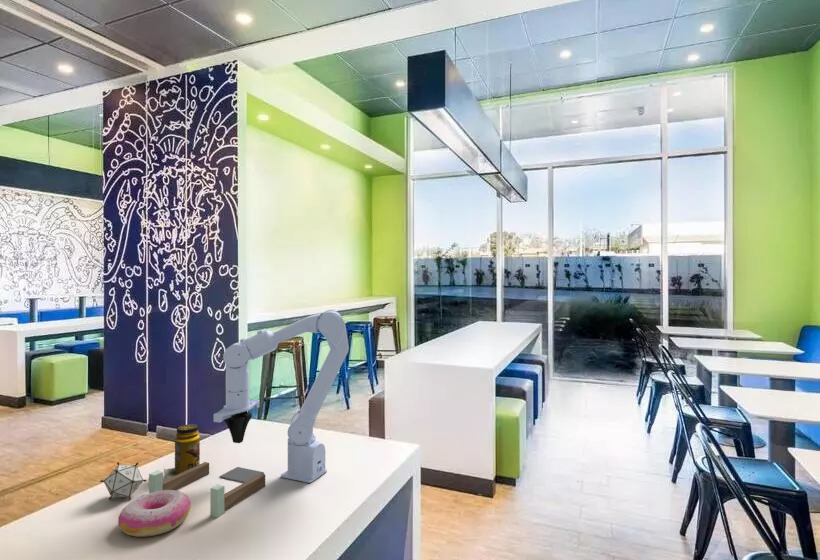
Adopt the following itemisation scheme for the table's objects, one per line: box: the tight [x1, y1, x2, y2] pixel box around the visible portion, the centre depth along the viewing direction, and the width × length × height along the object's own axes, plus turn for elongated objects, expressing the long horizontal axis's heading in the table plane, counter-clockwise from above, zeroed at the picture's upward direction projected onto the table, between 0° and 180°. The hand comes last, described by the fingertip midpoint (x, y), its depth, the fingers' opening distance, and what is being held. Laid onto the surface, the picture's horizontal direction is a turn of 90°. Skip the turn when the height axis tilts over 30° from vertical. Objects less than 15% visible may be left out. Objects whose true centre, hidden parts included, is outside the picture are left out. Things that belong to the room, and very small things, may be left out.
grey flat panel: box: [218, 466, 265, 484], centre depth 121 cm, size 9×6×1 cm
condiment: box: [164, 423, 201, 480], centre depth 123 cm, size 7×8×12 cm
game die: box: [99, 461, 148, 502], centre depth 109 cm, size 9×8×10 cm
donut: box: [117, 490, 191, 538], centre depth 97 cm, size 14×13×5 cm
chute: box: [148, 461, 266, 518], centre depth 111 cm, size 21×16×6 cm
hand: (237, 442), depth 119 cm, fingers closed
